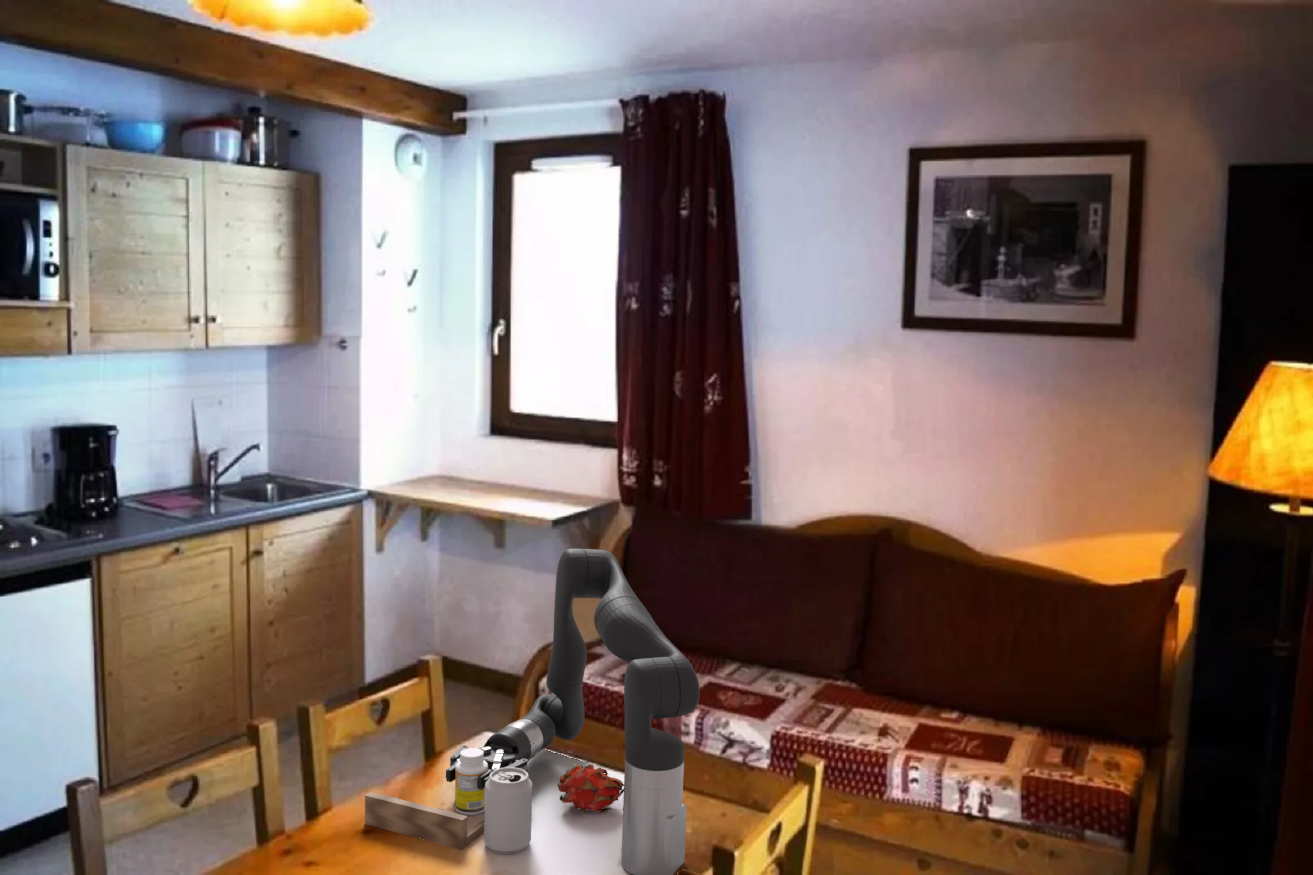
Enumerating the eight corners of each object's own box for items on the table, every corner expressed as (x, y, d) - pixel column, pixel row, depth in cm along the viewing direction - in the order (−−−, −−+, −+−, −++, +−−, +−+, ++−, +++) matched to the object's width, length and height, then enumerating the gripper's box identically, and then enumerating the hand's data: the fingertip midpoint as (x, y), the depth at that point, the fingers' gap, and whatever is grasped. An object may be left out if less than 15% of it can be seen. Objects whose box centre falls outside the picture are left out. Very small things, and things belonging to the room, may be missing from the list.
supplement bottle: (468, 799, 193) (469, 743, 192) (493, 807, 190) (495, 750, 189) (447, 811, 188) (448, 754, 187) (474, 819, 186) (475, 761, 184)
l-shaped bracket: (488, 829, 182) (489, 800, 182) (462, 850, 175) (462, 820, 174) (394, 805, 190) (394, 777, 189) (364, 824, 182) (364, 795, 182)
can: (522, 859, 173) (524, 786, 172) (476, 853, 174) (478, 780, 173) (536, 837, 180) (538, 767, 179) (493, 831, 182) (494, 762, 180)
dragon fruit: (551, 814, 192) (618, 825, 193) (554, 805, 185) (624, 816, 185) (559, 765, 196) (625, 776, 197) (562, 754, 189) (631, 765, 190)
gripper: (481, 718, 204) (428, 750, 189) (549, 733, 198) (500, 767, 183) (480, 757, 205) (427, 792, 189) (548, 773, 199) (499, 810, 184)
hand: (463, 780), depth 186 cm, fingers closed on supplement bottle, 5 cm apart
